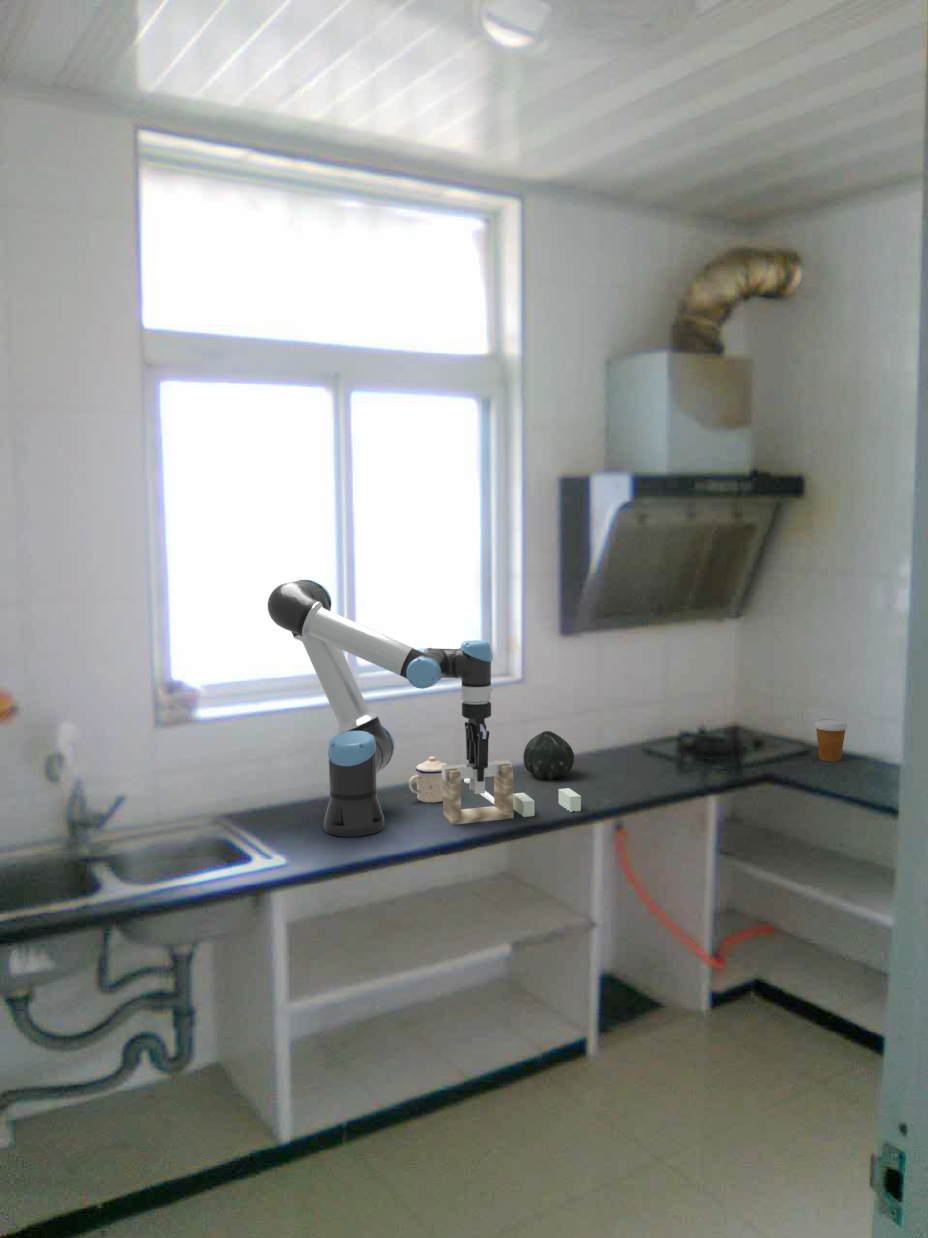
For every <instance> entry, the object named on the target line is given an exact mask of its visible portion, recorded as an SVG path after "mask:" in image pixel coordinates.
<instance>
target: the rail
mask: <svg viewBox="0 0 928 1238" xmlns="http://www.w3.org/2000/svg"><path fill="white" fill-rule="evenodd" d="M504 765H511V766H513V763H512V762H511V761H510V760H504V761H497V762H494V761H488V768H485V778H489V777H490V778H491V777H494V776H501V766H504ZM472 767H475V763H473V764H469V763H463V764H452V765H450V766H442V778H443V779H444V780H445V781H447V780H449V770H459V771H460V772H461V780H464V779H469V778H474V770H473V768H472Z"/></svg>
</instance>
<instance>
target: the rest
mask: <svg viewBox="0 0 928 1238" xmlns="http://www.w3.org/2000/svg"><path fill="white" fill-rule="evenodd" d="M558 805H560V806H561V807H562V808H564V809H565V808H566V809H565V810H567V811H568V810H569V811H568V812H570V813H572V812H573V811H575V812H581V811H582V796H581V795H580V794H578V792H576V791H574V790H573V789H571V788H569V787H566V788H558ZM513 811H516V812H517V813H518V814H519V815H521V816H522V817H523V818H526V817H534V816H535V800H534V799H533V798H531V797H530V796H529V795H527V793H525V792H517V793H513Z"/></svg>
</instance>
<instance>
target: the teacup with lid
mask: <svg viewBox="0 0 928 1238" xmlns="http://www.w3.org/2000/svg"><path fill="white" fill-rule="evenodd" d="M442 765H448V764H447V763H445V762H441V761H440V760H437V757H436V756H429V757H428V759H427V760H425V761H424V762H422V763H419V764H417V765H416V767H415V770H416V774H415V775H412V776H411V777H410V779H409V780H408V787H409V788H408V789H409V790H410V791H411V792H412V793H413V794H416V796H417V797H416V798H417V800H418V801H420V802H423V803H440V802H443V778H442ZM415 779H416V790H415V789H414V786H413V782H414V781H415Z"/></svg>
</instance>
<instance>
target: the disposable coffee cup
mask: <svg viewBox="0 0 928 1238" xmlns="http://www.w3.org/2000/svg"><path fill="white" fill-rule="evenodd" d="M814 726H815V730H816V739H817V751H818V759H819V760H821V761H825V762H839V761H841V759H842V753H843V747H844V740H845V734H846V730H847V728H848V725H847V723H846V721H845V720H843V719H838V718H818V719H816V720H815V723H814Z"/></svg>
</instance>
